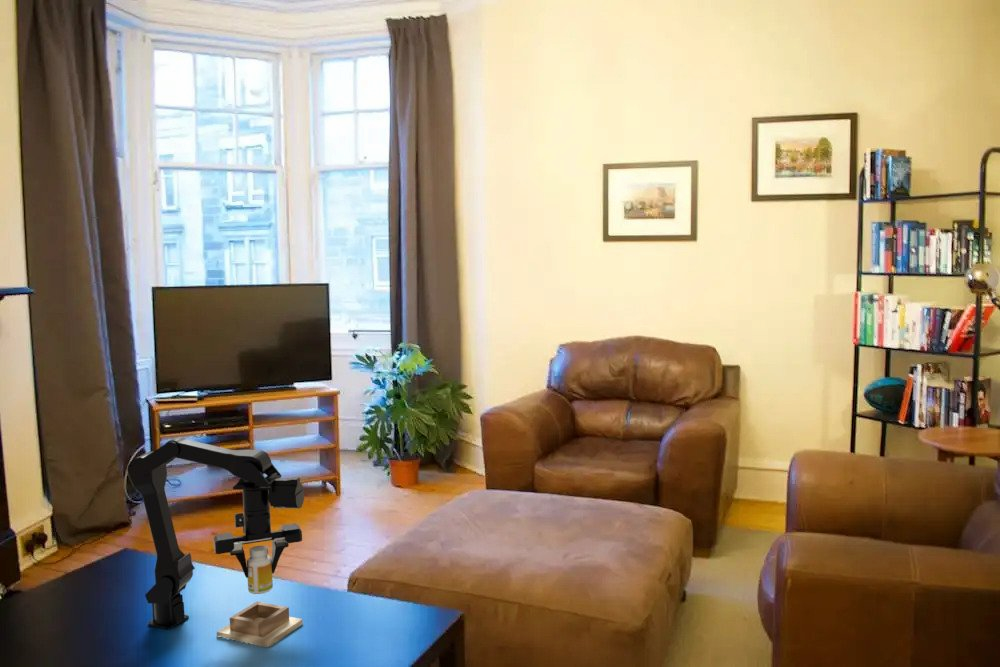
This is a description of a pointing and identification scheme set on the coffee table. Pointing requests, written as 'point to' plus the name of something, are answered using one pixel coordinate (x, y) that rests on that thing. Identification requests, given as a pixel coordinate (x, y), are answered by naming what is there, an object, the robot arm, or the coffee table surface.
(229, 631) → the collar board
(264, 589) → the supplement bottle
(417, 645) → the coffee table surface
